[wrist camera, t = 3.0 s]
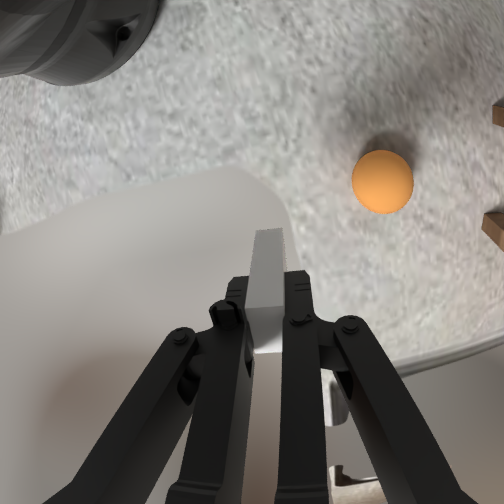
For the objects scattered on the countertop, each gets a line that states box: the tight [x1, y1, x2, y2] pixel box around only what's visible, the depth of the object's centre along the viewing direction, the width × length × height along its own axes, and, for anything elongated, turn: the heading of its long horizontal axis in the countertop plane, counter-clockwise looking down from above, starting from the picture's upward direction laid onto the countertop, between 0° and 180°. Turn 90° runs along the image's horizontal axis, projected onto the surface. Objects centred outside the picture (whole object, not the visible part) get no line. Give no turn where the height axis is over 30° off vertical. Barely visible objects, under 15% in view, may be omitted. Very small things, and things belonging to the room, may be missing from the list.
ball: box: [352, 150, 414, 214], centre depth 23 cm, size 6×6×6 cm
